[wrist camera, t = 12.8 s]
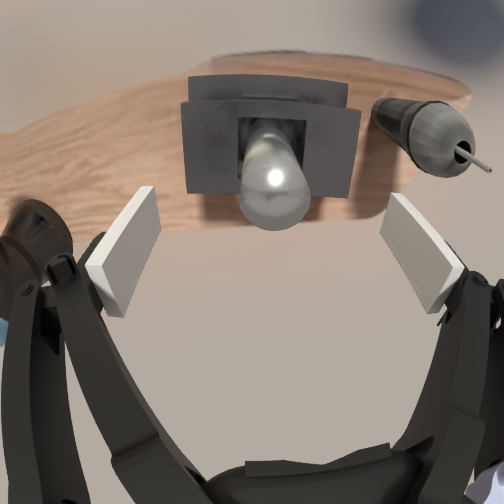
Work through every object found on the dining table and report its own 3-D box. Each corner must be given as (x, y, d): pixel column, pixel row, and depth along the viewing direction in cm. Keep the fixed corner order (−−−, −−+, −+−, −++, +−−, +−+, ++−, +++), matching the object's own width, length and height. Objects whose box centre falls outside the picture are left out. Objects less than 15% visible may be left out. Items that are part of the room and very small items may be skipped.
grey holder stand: (195, 183, 34) (180, 215, 28) (190, 76, 26) (168, 78, 19) (332, 187, 34) (351, 220, 28) (345, 83, 26) (373, 88, 19)
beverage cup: (402, 147, 30) (502, 229, 14) (355, 132, 30) (450, 209, 14) (415, 99, 26) (533, 150, 10) (368, 79, 25) (485, 107, 9)
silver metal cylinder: (248, 116, 28) (238, 165, 14) (284, 117, 28) (314, 168, 14) (248, 150, 31) (238, 232, 16) (282, 151, 31) (305, 234, 16)
